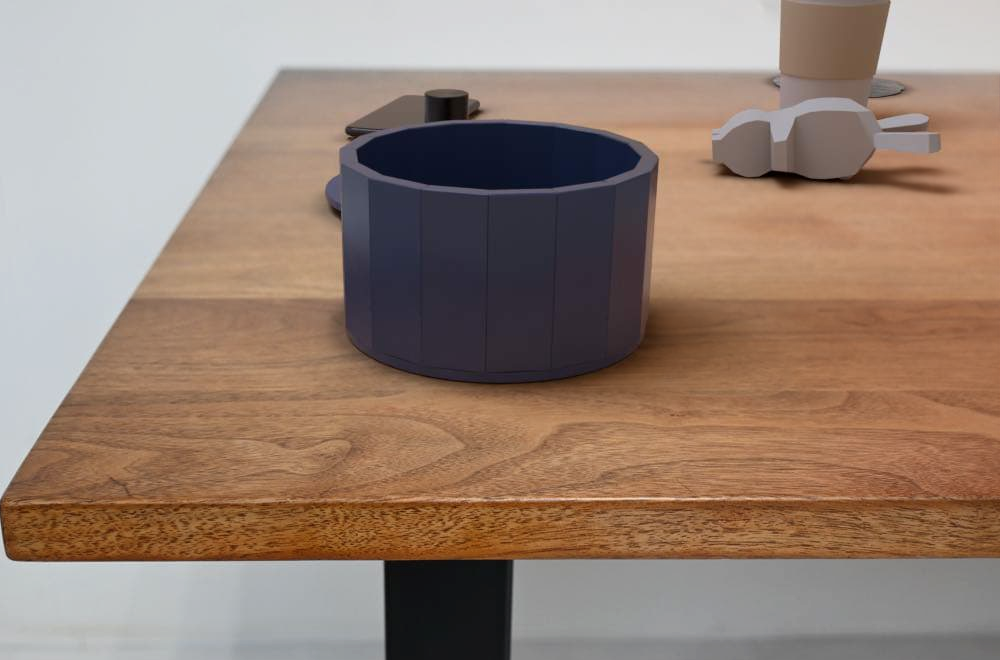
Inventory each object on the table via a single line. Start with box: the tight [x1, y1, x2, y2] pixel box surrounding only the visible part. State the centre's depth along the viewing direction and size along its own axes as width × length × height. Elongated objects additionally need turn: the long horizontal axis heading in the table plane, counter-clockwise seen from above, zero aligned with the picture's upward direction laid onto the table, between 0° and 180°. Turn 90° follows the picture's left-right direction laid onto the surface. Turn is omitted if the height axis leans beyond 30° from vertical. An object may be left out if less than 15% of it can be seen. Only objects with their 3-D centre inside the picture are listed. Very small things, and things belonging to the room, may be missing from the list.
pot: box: [338, 118, 660, 384], centre depth 60 cm, size 15×15×8 cm
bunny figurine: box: [711, 97, 942, 181], centre depth 88 cm, size 10×5×15 cm
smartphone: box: [344, 94, 481, 138], centre depth 103 cm, size 7×1×15 cm
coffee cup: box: [778, 0, 892, 110], centre depth 103 cm, size 9×9×15 cm
